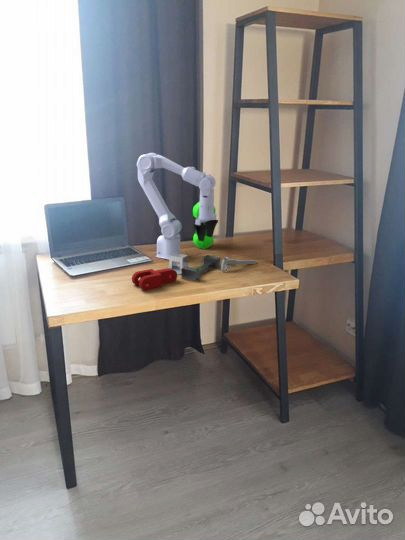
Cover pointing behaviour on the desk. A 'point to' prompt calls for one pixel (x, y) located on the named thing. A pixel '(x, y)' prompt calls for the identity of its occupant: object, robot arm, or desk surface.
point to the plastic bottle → (207, 240)
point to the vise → (200, 268)
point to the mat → (178, 269)
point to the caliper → (233, 262)
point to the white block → (178, 260)
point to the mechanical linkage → (154, 278)
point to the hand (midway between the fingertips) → (205, 238)
